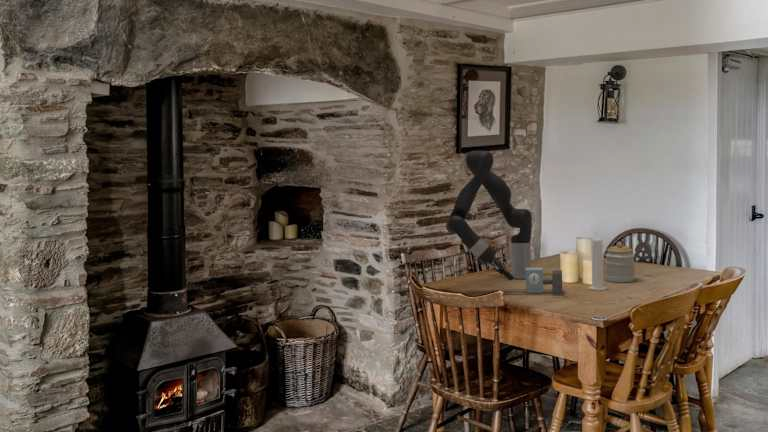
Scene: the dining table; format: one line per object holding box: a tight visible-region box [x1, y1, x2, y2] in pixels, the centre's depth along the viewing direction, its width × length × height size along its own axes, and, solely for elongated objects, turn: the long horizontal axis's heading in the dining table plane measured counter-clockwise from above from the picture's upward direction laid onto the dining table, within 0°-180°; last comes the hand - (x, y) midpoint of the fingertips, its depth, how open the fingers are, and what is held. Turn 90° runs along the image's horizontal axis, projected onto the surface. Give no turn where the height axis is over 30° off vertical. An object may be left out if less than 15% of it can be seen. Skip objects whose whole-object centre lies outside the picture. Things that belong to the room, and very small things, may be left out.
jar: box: [604, 241, 636, 283], centre depth 331 cm, size 13×13×18 cm
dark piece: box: [498, 269, 566, 297], centre depth 309 cm, size 12×28×10 cm, turn 76°
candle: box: [588, 231, 607, 291], centre depth 314 cm, size 7×7×25 cm
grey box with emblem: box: [525, 267, 552, 293], centre depth 308 cm, size 6×11×10 cm, turn 76°
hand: (512, 278), depth 311 cm, fingers closed
